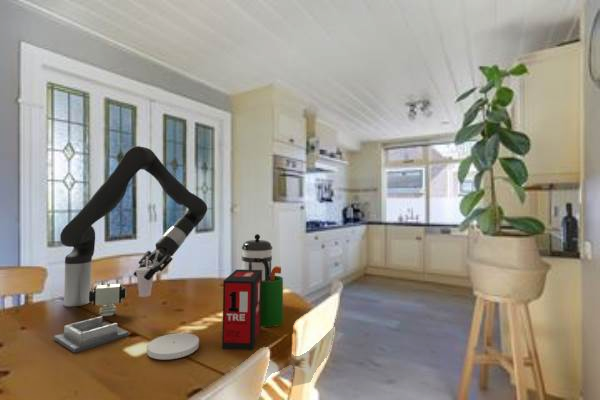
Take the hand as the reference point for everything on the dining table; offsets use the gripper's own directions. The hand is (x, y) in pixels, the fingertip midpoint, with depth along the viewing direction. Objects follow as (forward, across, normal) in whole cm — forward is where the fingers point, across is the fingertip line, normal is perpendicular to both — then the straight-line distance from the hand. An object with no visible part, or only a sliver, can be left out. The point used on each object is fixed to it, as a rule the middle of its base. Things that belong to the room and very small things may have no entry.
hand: (140, 277), depth 114 cm
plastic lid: (+16, +28, +8) cm, 33 cm away
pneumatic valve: (+13, -18, +10) cm, 24 cm away
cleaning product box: (+2, +38, +20) cm, 43 cm away
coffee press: (-16, +21, +39) cm, 47 cm away
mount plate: (+22, 0, 0) cm, 22 cm away
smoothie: (+4, 0, +6) cm, 7 cm away
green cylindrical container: (-9, +36, +31) cm, 49 cm away
